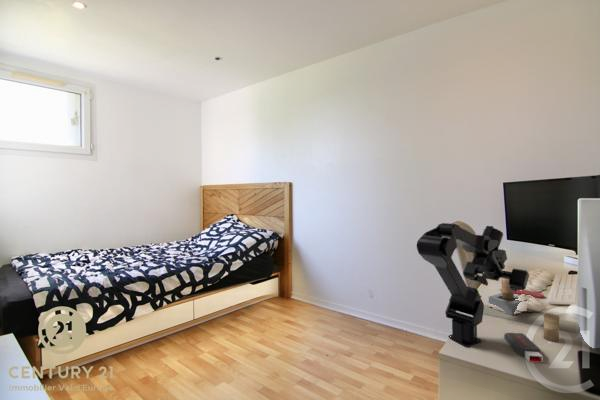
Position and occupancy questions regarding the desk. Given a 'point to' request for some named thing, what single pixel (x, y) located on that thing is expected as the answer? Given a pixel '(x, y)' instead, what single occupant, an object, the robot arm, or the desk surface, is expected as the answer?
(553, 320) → the short peg
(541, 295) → the red screwdriver
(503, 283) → the tall peg
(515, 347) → the usb drive
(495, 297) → the grey slotted box
